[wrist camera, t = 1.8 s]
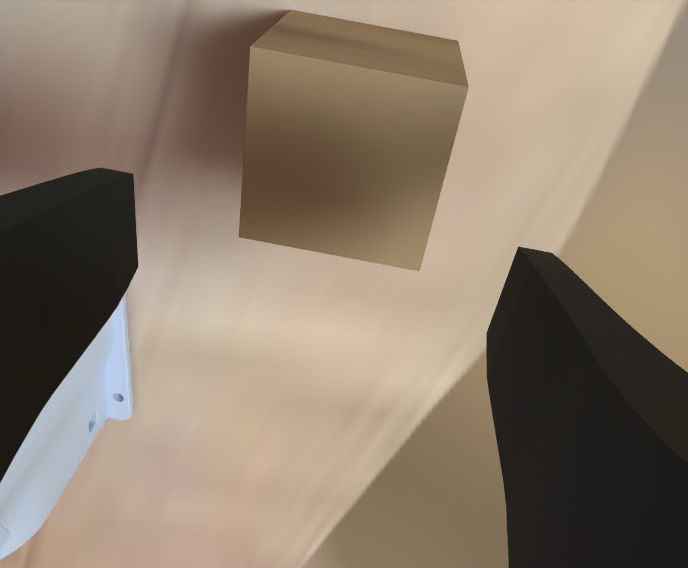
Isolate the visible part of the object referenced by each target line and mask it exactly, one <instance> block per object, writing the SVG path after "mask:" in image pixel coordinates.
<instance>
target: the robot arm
mask: <svg viewBox="0 0 688 568" xmlns="http://www.w3.org/2000/svg"><path fill="white" fill-rule="evenodd" d="M137 268H138V253H137V235H136V217H135V198H134V180H133V174H131V173H126V172H121V171H115V170H110V169H105V168H97V169H91V170H86V171H82V172H78V173H74V174H70V175H67V176H64V177H60V178H57V179H54V180H50V181H47V182H44V183H40V184H37V185H34V186H31V187H27V188H24V189H21V190H18V191H14V192H11V193H8V194H5V195H1V196H0V559H2V558H4V557H6V556H7V555H9V554H10V553H12V552H13V551H15V550H16V549H18V548H19V547H20V546H22V545H23V544H24V543H25V542H26V541H27V540H29V539H30V538H31V537H32V536H33V535H34V534H35V533H36V532H37V531H38V530H39V528H40V527H41V526H42V525H43V523H44V522H45V521H46V519H47V518H48V516H49V514H50V513H51V511H52V509H53V508H54V506H55V504H56V503H57V501H58V499H59V498H60V496H61V494H62V493H63V491H64V489H65V488H66V486H67V484H68V483H69V481H70V479H71V478H72V476H73V474H74V473H75V471H76V469H77V468H78V466H79V465H80V463H81V461H82V460H83V458H84V456H85V455H86V453H87V451H88V450H89V448H90V446H91V445H92V443H93V441H94V440H95V438H96V436H97V435H98V433H99V431H100V430H101V428H102V426H103V425H104V423H105V421H106V420H107V418H112V419H118V420H127V419H129V418H130V417H131V415H132V413H133V397H132V383H131V368H130V354H129V340H128V326H127V312H126V297H125V292H126V290H127V288H128V286H129V284H130V282H131V280H132V278H133V276H134V274H135V272H136V270H137ZM487 381H488V388H489V394H490V401H491V407H492V414H493V420H494V426H495V432H496V438H497V444H498V451H499V457H500V463H501V469H502V475H503V482H504V491H505V499H506V511H507V534H508V555H509V568H688V372H686V371H685V370H684V369H682V368H681V367H680V366H678V365H677V364H676V363H674V362H673V361H672V360H671V359H669V358H668V357H667V356H665V355H664V354H663V353H662V352H661V351H659V350H658V349H657V348H656V347H655V346H653V345H652V344H651V343H650V342H649V341H648V340H646V339H645V338H644V337H643V336H642V335H640V334H639V333H638V332H637V331H636V330H634V329H633V328H632V327H631V326H630V325H629V324H628V323H627V322H626V321H625V320H623V319H622V318H621V317H620V316H619V315H618V314H617V313H616V312H615V311H614V310H613V309H611V307H610V306H608V305H607V304H606V303H605V302H604V301H603V300H602V299H601V298H600V297H599V296H598V295H597V294H596V293H595V292H594V291H593V290H592V289H591V288H590V287H589V286H588V285H587V284H586V283H584V281H582V280H581V279H580V278H579V277H578V276H577V275H576V274H575V273H574V272H573V271H572V270H571V269H570V268H569V267H568V266H567V265H566V264H565V263H563V262H562V261H561V260H560V259H559V258H558V257H556V256H555V255H554V254H552V253H549V252H544V251H539V250H534V249H528V248H523V247H518V249H517V252H516V255H515V257H514V260H513V263H512V265H511V268H510V271H509V274H508V276H507V279H506V282H505V284H504V287H503V290H502V293H501V295H500V298H499V301H498V304H497V306H496V309H495V312H494V314H493V317H492V320H491V323H490V325H489V328H488V331H487ZM119 394H121V395H119Z"/></svg>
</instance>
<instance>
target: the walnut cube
mask: <svg viewBox="0 0 688 568" xmlns="http://www.w3.org/2000/svg"><path fill="white" fill-rule="evenodd" d="M467 91H468V83H467V78H466V74H465V69H464V65H463V60H462V56H461V51H460V47H459V42H458V41H456V40H450V39H445V38H440V37H434V36H429V35H423V34H418V33H413V32H407V31H402V30H397V29H391V28H386V27H380V26H375V25H370V24H364V23H359V22H354V21H348V20H343V19H337V18H332V17H327V16H321V15H316V14H311V13H305V12H300V11H294V10H290V11H289V12H288V13H287V14H286V15H284V16H283V17H282V18H281V19H280V20H279V21H278V22H277V23H276V24H275V25H273V26H272V27H271V28H270V29H269V30H268V31H267V32H266V33H265V34H263V35H262V36H261V37H260V38H259V39H258V40H257V41H256V42H255V43H254V44H252V45H251V46H250V58H249V75H248V92H247V109H246V126H245V143H244V159H243V176H242V193H241V210H240V227H239V237H241V238H247V239H252V240H257V241H262V242H268V243H273V244H278V245H284V246H289V247H294V248H299V249H305V250H310V251H315V252H321V253H326V254H331V255H336V256H342V257H347V258H352V259H357V260H363V261H368V262H373V263H379V264H384V265H389V266H394V267H400V268H405V269H410V270H416V271H420V267H421V263H422V260H423V256H424V252H425V248H426V245H427V241H428V237H429V233H430V230H431V226H432V222H433V218H434V215H435V211H436V207H437V203H438V200H439V196H440V192H441V188H442V185H443V181H444V177H445V173H446V170H447V166H448V162H449V158H450V155H451V151H452V147H453V144H454V140H455V136H456V132H457V129H458V125H459V121H460V117H461V114H462V110H463V106H464V102H465V99H466V95H467Z"/></svg>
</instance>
